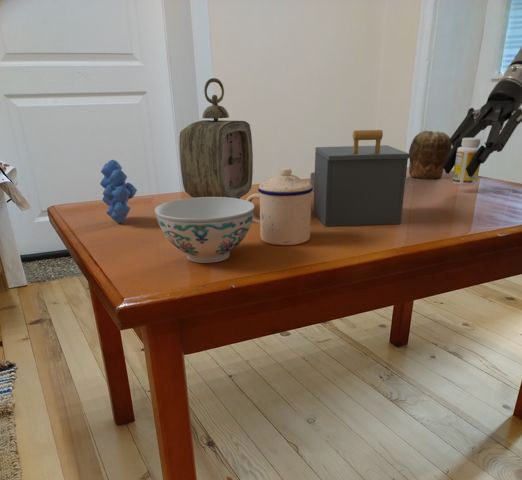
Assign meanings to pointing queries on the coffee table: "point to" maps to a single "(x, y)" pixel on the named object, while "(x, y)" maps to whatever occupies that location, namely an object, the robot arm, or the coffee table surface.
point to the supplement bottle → (466, 162)
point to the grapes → (116, 191)
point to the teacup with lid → (284, 209)
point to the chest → (359, 191)
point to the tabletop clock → (216, 153)
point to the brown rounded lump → (429, 154)
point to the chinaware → (205, 225)
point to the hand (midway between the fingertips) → (457, 171)
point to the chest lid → (362, 149)
